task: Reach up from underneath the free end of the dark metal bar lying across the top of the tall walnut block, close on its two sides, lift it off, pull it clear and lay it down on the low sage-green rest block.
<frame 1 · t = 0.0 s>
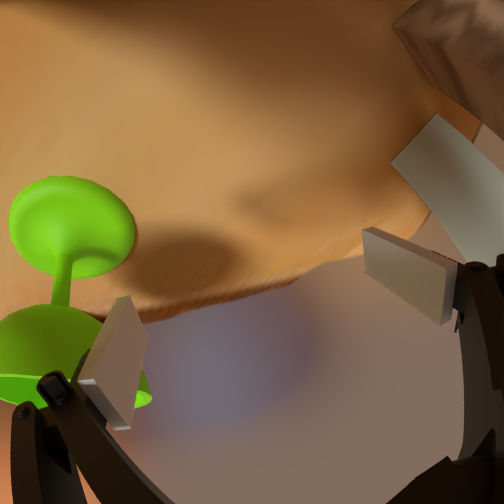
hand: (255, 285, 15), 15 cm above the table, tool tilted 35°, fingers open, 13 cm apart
rest block: (422, 149, 31), on the table
wineglass: (69, 233, 27), on the table
stand: (438, 33, 17), on the table
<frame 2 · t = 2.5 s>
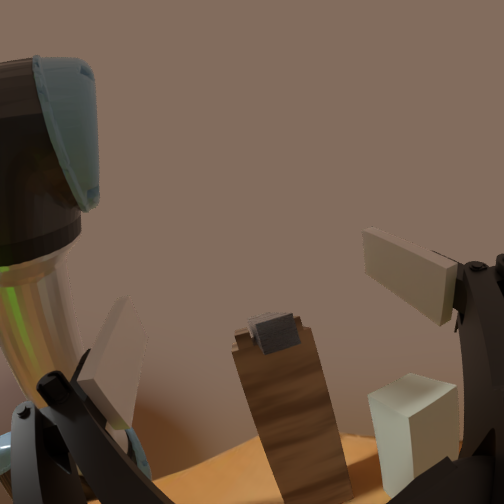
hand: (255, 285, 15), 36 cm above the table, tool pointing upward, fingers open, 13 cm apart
rest block: (418, 492, 22), on the table
bar: (269, 338, 35), point 30 cm above the table, touching stand
stand: (315, 494, 32), on the table
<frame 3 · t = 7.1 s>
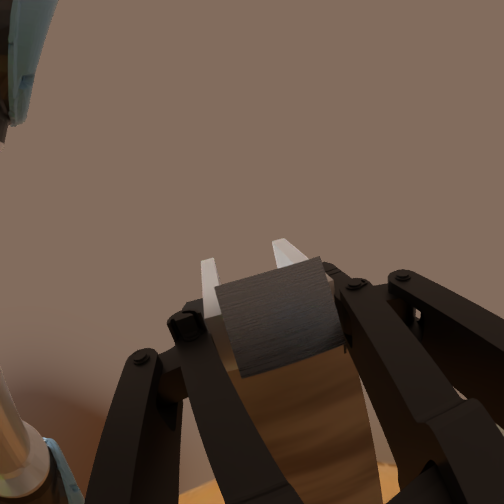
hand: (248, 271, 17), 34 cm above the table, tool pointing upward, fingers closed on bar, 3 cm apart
bar: (263, 335, 19), point 30 cm above the table, touching gripper
when the fingers open (25 cm above the table, at t = 13.0 s): bar drops 2 cm, resting on rest block.
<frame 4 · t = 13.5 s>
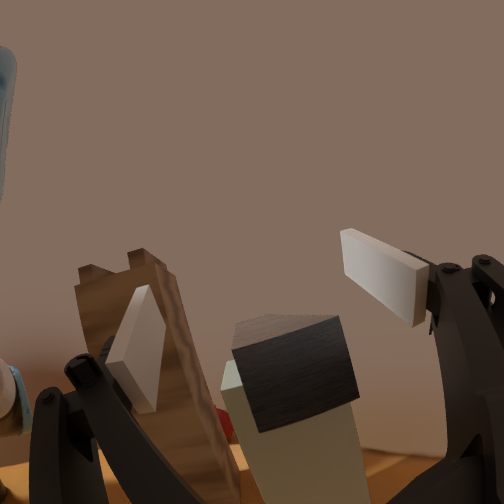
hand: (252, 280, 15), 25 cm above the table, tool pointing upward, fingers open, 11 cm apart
bar: (271, 362, 18), point 19 cm above the table, touching rest block
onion: (225, 441, 43), on the table
stand: (203, 494, 26), on the table
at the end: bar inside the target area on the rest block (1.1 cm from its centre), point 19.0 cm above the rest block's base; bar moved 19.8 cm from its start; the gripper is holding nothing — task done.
